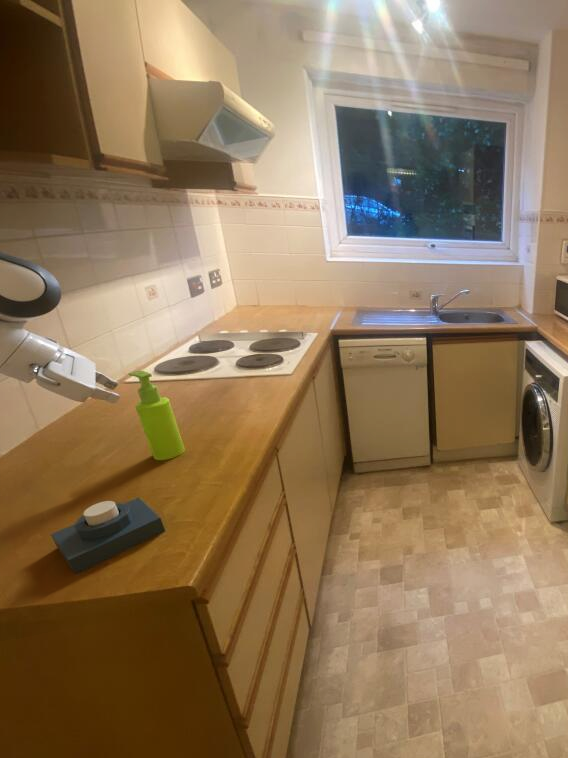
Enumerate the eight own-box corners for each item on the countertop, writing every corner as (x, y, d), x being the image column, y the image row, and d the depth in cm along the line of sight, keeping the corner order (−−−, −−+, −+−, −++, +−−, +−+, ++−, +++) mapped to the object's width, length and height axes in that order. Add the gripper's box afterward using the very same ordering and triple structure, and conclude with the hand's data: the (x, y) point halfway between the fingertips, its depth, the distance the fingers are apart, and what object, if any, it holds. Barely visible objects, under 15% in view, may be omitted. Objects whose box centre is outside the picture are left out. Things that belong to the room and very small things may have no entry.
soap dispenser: (173, 443, 105) (147, 366, 97) (190, 450, 102) (165, 371, 94) (145, 455, 100) (116, 374, 92) (162, 462, 97) (133, 380, 89)
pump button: (92, 529, 71) (87, 519, 70) (84, 520, 73) (79, 510, 72) (122, 516, 74) (118, 506, 73) (114, 507, 76) (110, 497, 75)
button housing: (75, 574, 68) (63, 550, 66) (57, 548, 73) (45, 524, 71) (165, 531, 77) (156, 508, 75) (144, 510, 82) (135, 488, 80)
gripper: (40, 359, 77) (129, 395, 87) (48, 335, 91) (124, 368, 101) (14, 388, 76) (107, 421, 86) (27, 359, 90) (106, 390, 100)
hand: (116, 392), depth 93 cm, fingers open, 8 cm apart
